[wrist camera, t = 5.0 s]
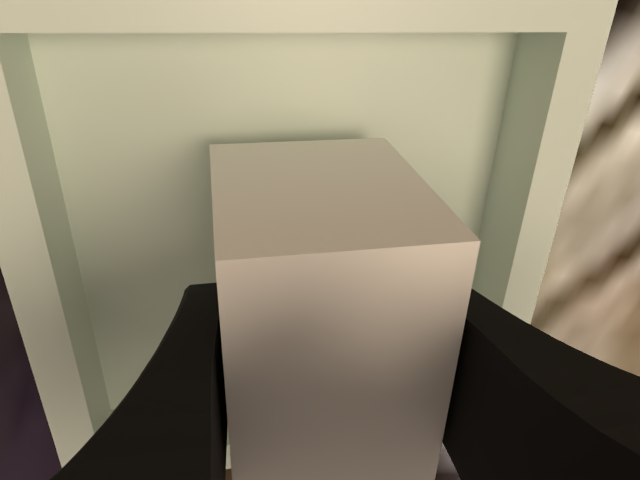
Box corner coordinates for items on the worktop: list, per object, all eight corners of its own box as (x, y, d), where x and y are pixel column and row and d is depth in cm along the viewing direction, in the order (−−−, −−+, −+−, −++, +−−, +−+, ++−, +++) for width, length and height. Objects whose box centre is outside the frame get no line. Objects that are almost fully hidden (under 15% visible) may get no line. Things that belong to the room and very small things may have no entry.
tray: (554, -28, 13) (623, -20, 11) (468, 375, 20) (501, 429, 17) (-34, -40, 11) (-92, -33, 9) (85, 422, 17) (69, 491, 15)
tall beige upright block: (384, 137, 13) (480, 240, 8) (363, 385, 16) (422, 545, 12) (209, 144, 12) (214, 260, 8) (228, 402, 16) (240, 579, 11)
